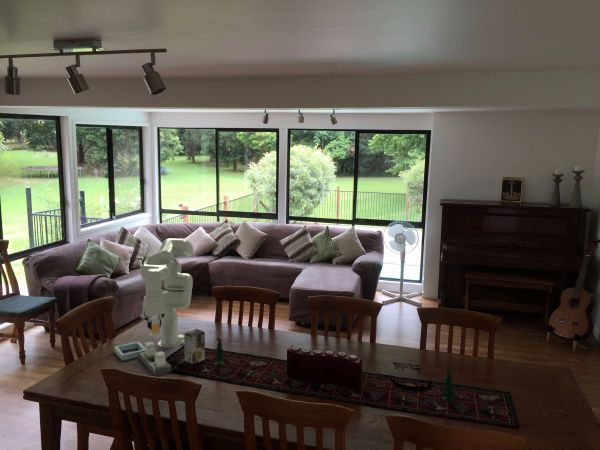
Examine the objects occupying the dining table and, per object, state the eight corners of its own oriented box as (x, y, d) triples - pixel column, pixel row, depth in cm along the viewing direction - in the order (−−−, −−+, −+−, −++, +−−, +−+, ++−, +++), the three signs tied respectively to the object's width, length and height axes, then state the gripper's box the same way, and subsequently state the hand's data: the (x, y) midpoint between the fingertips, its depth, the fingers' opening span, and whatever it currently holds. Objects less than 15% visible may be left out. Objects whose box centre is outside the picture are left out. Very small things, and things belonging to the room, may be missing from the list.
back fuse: (152, 357, 268) (152, 341, 266) (154, 360, 264) (154, 343, 263) (144, 359, 265) (144, 342, 264) (147, 361, 262) (147, 345, 261)
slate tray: (138, 348, 281) (138, 341, 280) (146, 356, 270) (146, 349, 270) (114, 353, 273) (114, 346, 273) (121, 362, 263) (121, 355, 262)
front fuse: (162, 368, 256) (162, 351, 254) (165, 371, 252) (165, 354, 251) (154, 369, 253) (154, 353, 252) (157, 372, 250) (157, 355, 249)
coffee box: (196, 356, 273) (196, 328, 270) (205, 360, 269) (205, 331, 266) (184, 362, 265) (183, 333, 263) (192, 365, 262) (192, 336, 259)
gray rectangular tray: (154, 356, 271) (154, 349, 270) (171, 373, 252) (171, 366, 251) (139, 360, 266) (139, 353, 265) (154, 377, 247) (154, 369, 247)
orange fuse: (157, 333, 259) (156, 316, 258) (159, 335, 256) (159, 319, 255) (149, 334, 257) (149, 318, 256) (152, 337, 254) (151, 320, 252)
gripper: (167, 288, 261) (167, 322, 264) (134, 293, 251) (135, 328, 254) (172, 292, 255) (172, 326, 258) (139, 297, 245) (140, 333, 248)
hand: (154, 327), depth 256 cm, fingers closed on orange fuse, 4 cm apart
